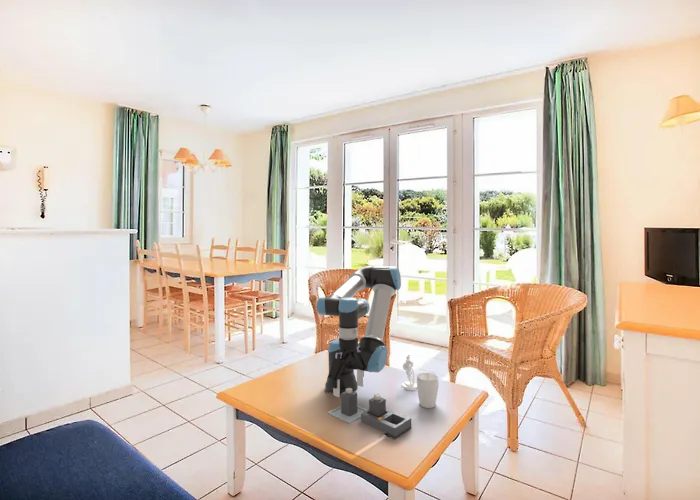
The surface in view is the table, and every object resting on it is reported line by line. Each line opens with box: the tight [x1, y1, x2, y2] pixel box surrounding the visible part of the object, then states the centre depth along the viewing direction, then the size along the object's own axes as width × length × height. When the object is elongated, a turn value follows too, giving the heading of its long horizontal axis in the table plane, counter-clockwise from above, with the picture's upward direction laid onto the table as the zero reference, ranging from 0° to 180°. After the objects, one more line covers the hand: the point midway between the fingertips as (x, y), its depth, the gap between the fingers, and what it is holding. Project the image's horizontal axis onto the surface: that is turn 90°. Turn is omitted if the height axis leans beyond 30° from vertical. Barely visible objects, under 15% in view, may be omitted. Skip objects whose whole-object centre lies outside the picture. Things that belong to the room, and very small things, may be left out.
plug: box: [340, 388, 358, 417], centre depth 149 cm, size 4×4×10 cm
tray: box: [327, 405, 368, 424], centre depth 149 cm, size 12×12×2 cm
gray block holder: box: [360, 393, 412, 440], centre depth 140 cm, size 16×10×10 cm, turn 47°
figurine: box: [400, 354, 418, 391], centre depth 177 cm, size 9×9×15 cm
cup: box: [416, 372, 439, 409], centre depth 158 cm, size 9×9×12 cm
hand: (348, 390), depth 148 cm, fingers open, 13 cm apart
